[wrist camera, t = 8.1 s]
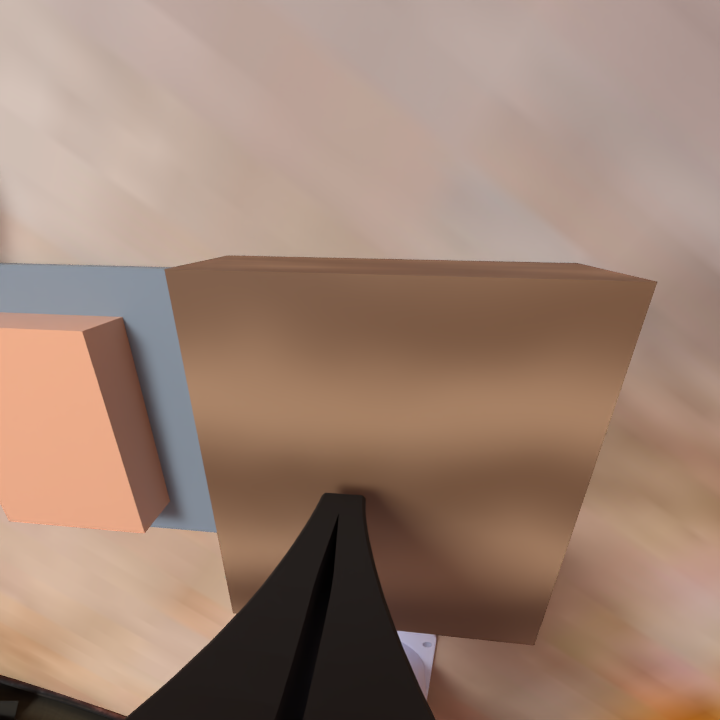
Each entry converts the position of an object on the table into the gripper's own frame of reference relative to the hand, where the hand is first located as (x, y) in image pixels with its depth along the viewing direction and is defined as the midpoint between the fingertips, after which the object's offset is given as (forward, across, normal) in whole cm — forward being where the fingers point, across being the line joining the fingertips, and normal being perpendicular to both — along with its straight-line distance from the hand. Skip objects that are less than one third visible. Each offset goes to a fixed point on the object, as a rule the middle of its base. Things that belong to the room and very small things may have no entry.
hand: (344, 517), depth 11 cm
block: (+3, +13, 0) cm, 14 cm away
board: (+5, -1, 0) cm, 5 cm away
